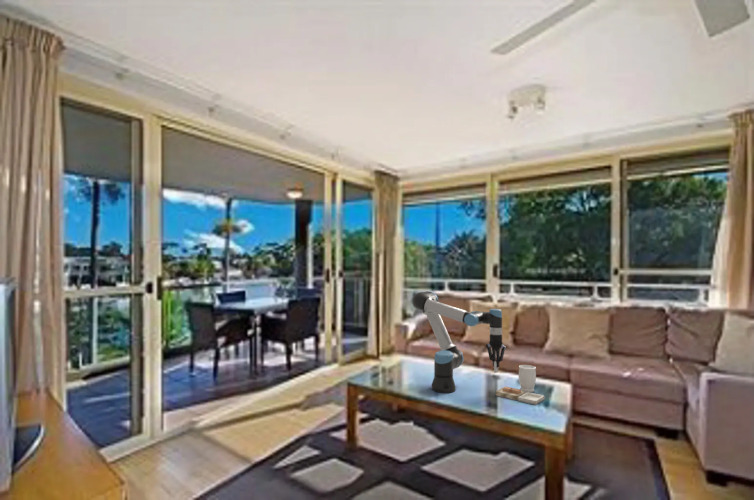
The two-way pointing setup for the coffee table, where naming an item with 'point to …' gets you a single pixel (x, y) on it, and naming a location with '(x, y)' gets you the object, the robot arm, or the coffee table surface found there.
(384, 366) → the coffee table surface
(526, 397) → the tray
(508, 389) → the tile rear
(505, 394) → the board
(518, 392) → the tile front
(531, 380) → the jar
